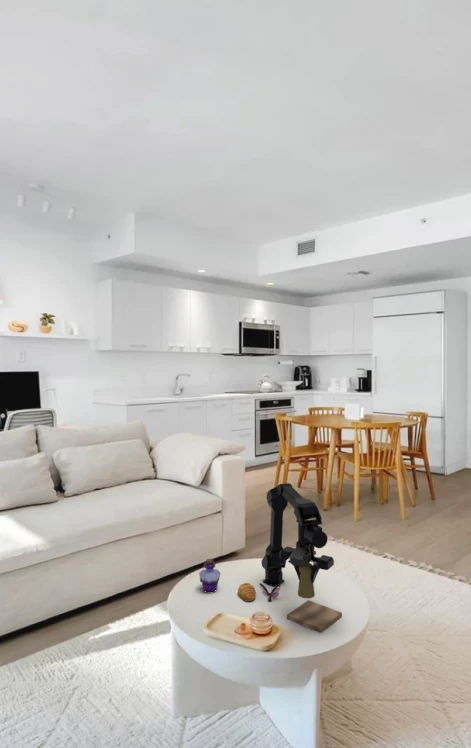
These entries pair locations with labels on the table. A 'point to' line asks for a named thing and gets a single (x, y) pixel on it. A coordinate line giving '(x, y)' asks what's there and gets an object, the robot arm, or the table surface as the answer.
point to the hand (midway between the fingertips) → (306, 581)
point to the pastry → (247, 592)
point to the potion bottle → (209, 576)
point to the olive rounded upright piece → (305, 582)
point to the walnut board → (314, 616)
